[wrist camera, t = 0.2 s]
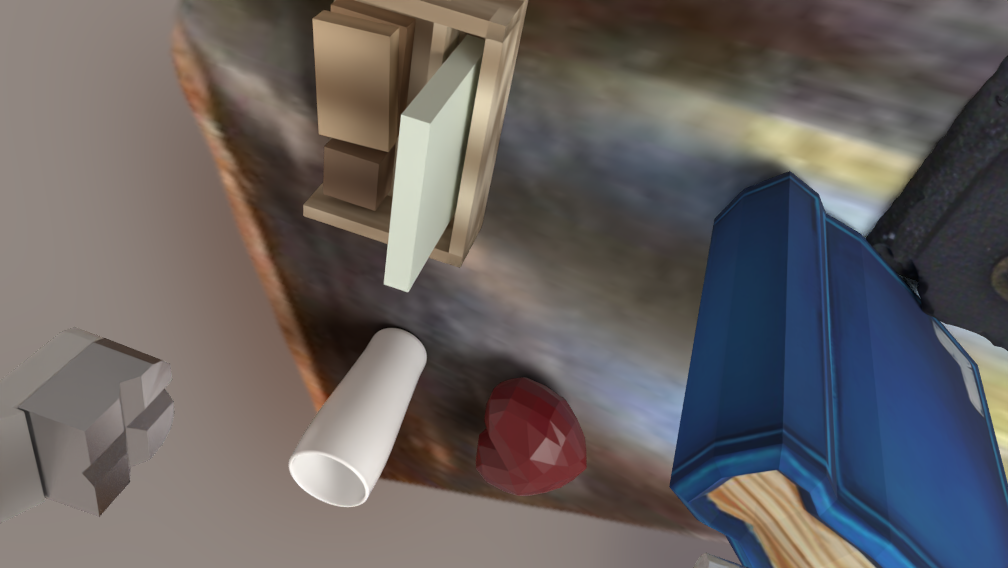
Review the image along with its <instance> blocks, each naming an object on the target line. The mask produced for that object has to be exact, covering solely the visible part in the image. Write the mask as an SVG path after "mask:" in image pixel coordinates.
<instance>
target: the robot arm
mask: <svg viewBox="0 0 1008 568" xmlns="http://www.w3.org/2000/svg"><path fill="white" fill-rule="evenodd" d="M171 381H172V374H171V366H170V363H167V362H165V361H163V360H160V359H158V358H155V357H153V356H150V355H147V354H145V353H142V352H140V351H137V350H134V349H132V348H129V347H127V346H124V345H122V344H119V343H116V342H114V341H111V340H109V339H106V338H103V337H100V336H98V335H95V334H92V333H90V332H87V331H84V330H81V329H79V328H76V327H73V328H70V329H67V330H64V331H62V332H60V333H59V334H58V335H57V336H55V337H54V338H53V339H51V340H50V341H49V342H48V343H46V344H45V345H44V346H43V347H42V348H40V349H39V350H38V351H36V352H35V353H34V354H33V355H31V356H30V357H29V358H28V359H26V360H25V361H24V362H23V363H21V364H20V365H19V366H18V367H17V368H15V369H14V370H13V371H11V372H10V373H9V374H8V375H6V376H5V377H4V378H3V379H1V380H0V523H3V522H5V521H7V520H9V519H11V518H13V517H15V516H17V515H19V514H21V513H23V512H25V511H27V510H29V509H31V508H33V507H35V506H37V505H39V504H41V503H43V502H45V498H47V499H50V500H53V501H56V502H59V503H61V504H64V505H67V506H70V507H73V508H76V509H79V510H81V511H84V512H87V513H90V514H93V515H96V516H99V517H100V515H102V513H103V512H104V511H105V510H106V509H107V508H108V507H109V505H110V504H111V503H112V502H113V501H114V500H115V498H116V497H117V496H118V495H119V494H120V493H121V492H122V491H123V490H124V489H125V487H126V486H127V485H128V484H129V483H130V467H133V466H135V465H137V464H140V463H143V462H145V461H148V460H150V459H151V458H152V456H153V455H154V454H155V453H156V452H157V451H158V449H159V448H160V447H161V446H162V444H163V442H164V440H165V438H166V436H167V434H168V433H169V430H170V429H171V426H172V422H173V417H174V401H173V400H172V398H171V397H170V395H169V394H168V393H167V391H166V390H165V387H166V386H167V385H168V384H169V383H170V382H171ZM693 568H749V567H746V566H743V565H740V564H737V563H734V562H731V561H728V560H725V559H722V558H719V557H716V556H713V555H710V554H708V553H705V554H703V555H702V556H700V558H699V559H698V561H697V562H696V564H695V565H694V567H693Z"/></svg>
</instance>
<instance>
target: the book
mask: <svg viewBox="0 0 1008 568" xmlns="http://www.w3.org/2000/svg"><path fill="white" fill-rule="evenodd" d="M669 487H670V488H671V489H672V491H673V492H674V493H675V494H676V495H677V497H678V498H679V499H680V500H681V501H682V503H683V504H684V505H685V506H686V507H687V509H688V510H689V511H690V512H691V513H692V515H693V516H694V517H695V518H696V519H697V520H698V521H700V522H702V523H704V524H705V525H707V526H709V527H711V528H713V529H715V530H717V531H719V532H721V533H722V534H724V535H725V536H726V537H727V539H728V541H729V543H730V544H731V546H732V548H733V550H734V551H735V553H736V555H737V557H738V558H739V560H740V562H741V564H742V565H743V566H746V567H749V568H1008V483H1007V479H1006V475H1005V471H1004V467H1003V463H1002V459H1001V455H1000V451H999V447H998V444H997V440H996V436H995V432H994V428H993V424H992V420H991V416H990V412H989V408H988V404H987V400H986V396H985V392H984V389H983V385H982V381H981V377H980V373H979V369H978V365H977V364H976V363H975V362H974V360H973V359H972V358H971V357H970V356H969V355H968V353H967V352H966V351H965V350H964V349H963V348H962V346H961V345H960V344H959V343H958V342H957V341H956V339H955V338H954V337H953V336H952V335H951V334H950V332H949V331H948V330H947V329H946V328H945V327H944V325H943V324H942V323H941V322H940V321H939V320H938V319H936V318H934V317H931V316H929V315H927V314H925V313H924V312H923V310H922V305H921V299H920V298H919V297H918V295H917V294H916V293H915V292H914V291H913V290H912V289H911V288H910V287H909V286H908V285H907V284H906V283H905V281H904V280H903V279H902V278H901V277H900V276H899V275H898V274H897V273H896V272H895V271H894V270H893V269H892V267H891V266H890V265H889V264H888V263H887V262H886V261H885V260H884V259H883V258H882V257H881V256H880V254H879V253H878V252H877V251H876V250H875V249H874V248H873V247H872V246H871V245H870V244H869V243H868V242H867V240H866V239H865V238H864V237H863V236H862V235H861V234H860V233H858V232H857V231H855V230H853V229H851V228H850V227H848V226H846V225H845V224H843V223H841V222H839V221H838V220H836V219H834V218H833V217H831V216H829V215H827V214H826V213H825V210H824V207H823V204H822V202H821V199H820V196H819V194H818V193H817V192H815V191H814V190H813V189H812V188H810V187H809V186H808V185H807V184H805V183H804V182H803V181H802V180H800V179H799V178H798V177H797V176H795V175H794V174H793V173H792V172H790V171H789V172H786V173H784V174H781V175H779V176H776V177H774V178H771V179H769V180H766V181H764V182H761V183H759V184H756V185H754V186H751V187H749V188H746V189H744V190H743V191H742V192H741V193H740V194H739V195H738V196H737V197H736V198H735V199H734V200H733V201H732V202H731V203H730V204H729V205H728V206H727V207H726V208H725V209H724V210H723V211H722V212H721V213H720V214H719V215H718V216H717V217H716V218H715V219H714V225H713V231H712V237H711V243H710V249H709V255H708V261H707V267H706V273H705V279H704V285H703V290H702V296H701V302H700V308H699V314H698V320H697V326H696V332H695V338H694V344H693V350H692V356H691V362H690V368H689V374H688V379H687V385H686V391H685V397H684V403H683V409H682V415H681V421H680V427H679V433H678V439H677V445H676V451H675V457H674V462H673V468H672V474H671V480H670V486H669Z"/></svg>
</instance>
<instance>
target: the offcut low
mask: <svg viewBox="0 0 1008 568" xmlns="http://www.w3.org/2000/svg"><path fill="white" fill-rule="evenodd" d="M331 12H335V13H339V14H343V15H348V16H352V17H356V18H360V19H365V20H369V21H373V22H378V23H382V24H386V25H391V26H395V27H399V68H398V112H397V138H398V136H399V131H400V121H401V114H402V113H403V112H404V110H405V109H406V107H407V98H408V88H409V79H410V70H411V60H412V51H413V41H414V32H415V23H416V19H415V18H411V17H408V16H405V15H401V14H398V13H395V12H392V11H388V10H385V9H382V8H378V7H375V6H372V5H368V4H365V3H362V2H359V1H355V0H336V1H335V2H334V3H332V4H331Z"/></svg>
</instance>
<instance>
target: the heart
mask: <svg viewBox="0 0 1008 568" xmlns="http://www.w3.org/2000/svg"><path fill="white" fill-rule="evenodd" d="M484 421H485V424H486V428H487V429H485V430H484V431H483V432H482V433H481V434H480V435H479V440H478V447H477V454H476V469H477V470H478V471H479V473H480V474H481V475H482V477H483V478H484V479H485V481H486V482H488V483H490V484H492V485H493V486H495V487H497V488H499V489H501V490H503V491H505V492H507V493H511V494H515V495H519V496H529V495H535V494H540V493H545V492H549V491H552V490H555V489H558V488H561V487H562V486H564V485H566V484H567V483H569V482H571V481H572V480H574V479H575V478H576V477H577V476H578V475H579V474H580V473H582V472H583V471H584V470H585V469H586V443H585V437H584V434H583V432H582V429H581V427H580V425H579V422H578V420H577V418H576V416H575V415H574V413H573V411H572V410H571V408H570V406H569V404H568V403H567V401H566V400H565V399H564V398H562V397H561V396H559V395H558V394H557V393H555V392H554V391H552V390H551V389H549V388H548V387H546V386H544V385H542V384H540V383H538V382H535V381H533V380H531V379H528V378H526V377H522V378H515V379H509V380H506V381H504V382H501V383H500V384H498V385H497V386H496V387H495V388H494V390H493V392H492V394H491V396H490V398H489V400H488V402H487V404H486V411H485V419H484Z"/></svg>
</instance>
